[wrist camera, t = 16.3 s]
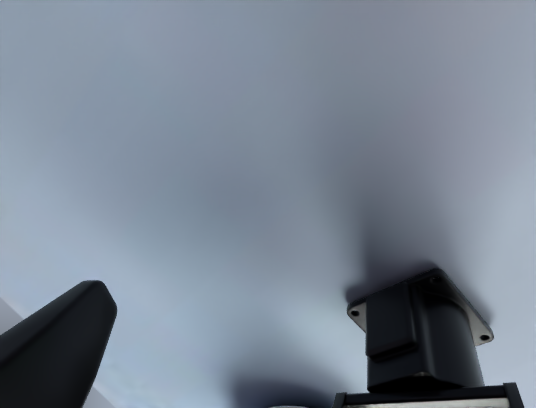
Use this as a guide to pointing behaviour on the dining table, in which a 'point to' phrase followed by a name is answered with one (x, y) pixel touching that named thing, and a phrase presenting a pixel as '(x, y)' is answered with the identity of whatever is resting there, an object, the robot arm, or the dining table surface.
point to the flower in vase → (288, 407)
